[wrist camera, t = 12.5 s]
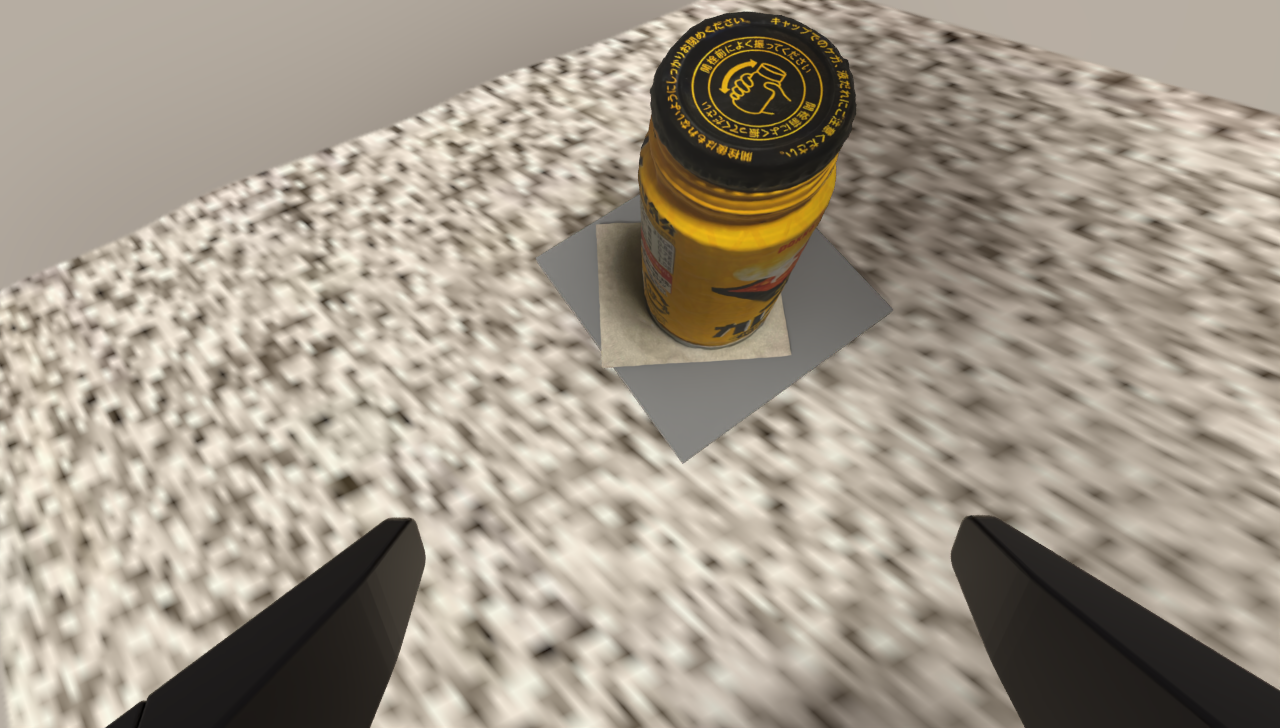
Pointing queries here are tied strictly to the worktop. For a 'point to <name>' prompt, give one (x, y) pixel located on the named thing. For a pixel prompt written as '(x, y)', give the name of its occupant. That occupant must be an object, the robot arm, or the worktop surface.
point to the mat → (729, 389)
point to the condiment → (724, 192)
